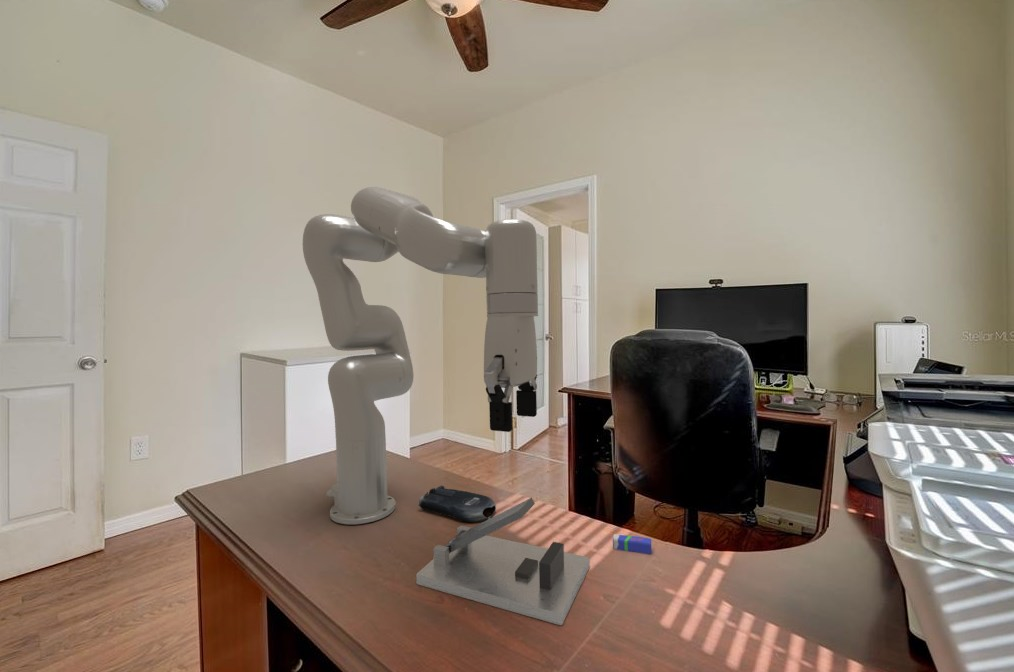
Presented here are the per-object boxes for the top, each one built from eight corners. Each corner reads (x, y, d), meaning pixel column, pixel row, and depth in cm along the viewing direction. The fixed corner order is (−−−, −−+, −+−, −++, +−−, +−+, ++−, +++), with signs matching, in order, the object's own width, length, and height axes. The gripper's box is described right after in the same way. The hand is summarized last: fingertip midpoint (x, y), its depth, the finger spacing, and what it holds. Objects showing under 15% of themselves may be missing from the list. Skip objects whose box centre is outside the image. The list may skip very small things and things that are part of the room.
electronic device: (416, 522, 87) (480, 526, 80) (415, 493, 88) (478, 495, 81) (444, 509, 95) (504, 513, 88) (443, 483, 96) (502, 484, 89)
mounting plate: (416, 584, 63) (415, 550, 63) (465, 539, 76) (464, 511, 76) (561, 625, 54) (561, 586, 54) (589, 566, 67) (589, 534, 67)
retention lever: (443, 557, 67) (439, 548, 67) (460, 542, 71) (456, 534, 71) (522, 518, 61) (517, 509, 61) (535, 504, 65) (530, 496, 66)
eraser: (614, 544, 74) (614, 532, 74) (651, 550, 72) (651, 538, 72) (612, 550, 72) (612, 538, 72) (651, 556, 70) (651, 543, 70)
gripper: (511, 309, 73) (514, 409, 74) (460, 306, 57) (464, 435, 58) (554, 307, 70) (556, 412, 71) (512, 304, 54) (516, 440, 55)
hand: (514, 422), depth 64 cm, fingers open, 9 cm apart
